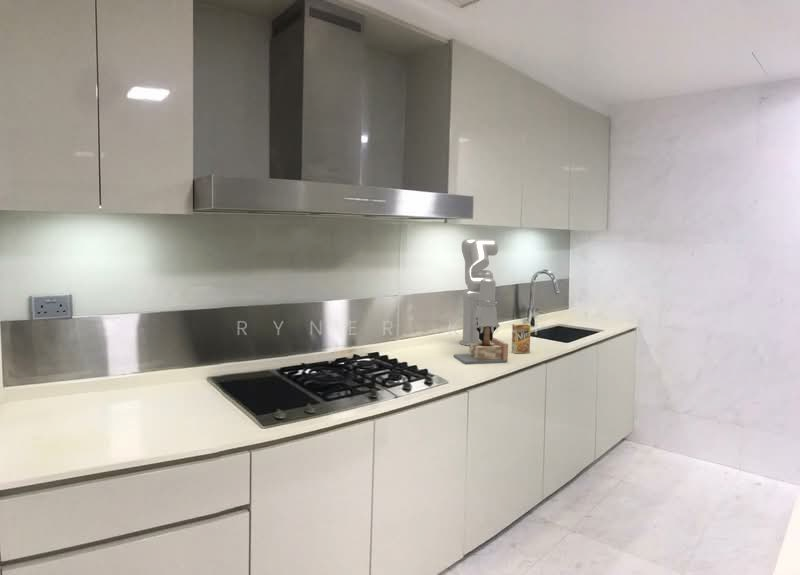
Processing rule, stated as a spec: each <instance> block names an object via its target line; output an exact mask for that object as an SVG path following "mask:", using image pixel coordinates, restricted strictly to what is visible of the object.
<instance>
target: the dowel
mask: <svg viewBox="0 0 800 575" xmlns="http://www.w3.org/2000/svg"><path fill="white" fill-rule="evenodd" d="M483 334H484V335H483V341H481V342H482V346H490V342H491V341H490V327H489V326H486V327H484V328H483Z"/></svg>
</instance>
